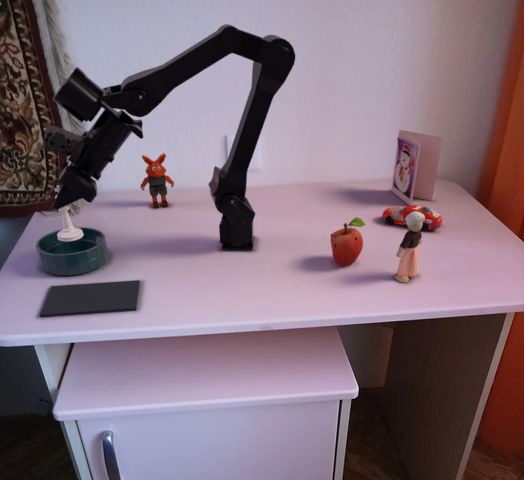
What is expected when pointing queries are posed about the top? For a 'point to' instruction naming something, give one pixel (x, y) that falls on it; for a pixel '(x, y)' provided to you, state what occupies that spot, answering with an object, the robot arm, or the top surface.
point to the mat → (91, 298)
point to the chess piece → (68, 225)
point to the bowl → (72, 252)
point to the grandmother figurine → (410, 247)
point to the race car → (400, 213)
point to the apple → (347, 243)
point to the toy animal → (156, 180)
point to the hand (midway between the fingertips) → (55, 205)
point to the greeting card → (416, 165)
